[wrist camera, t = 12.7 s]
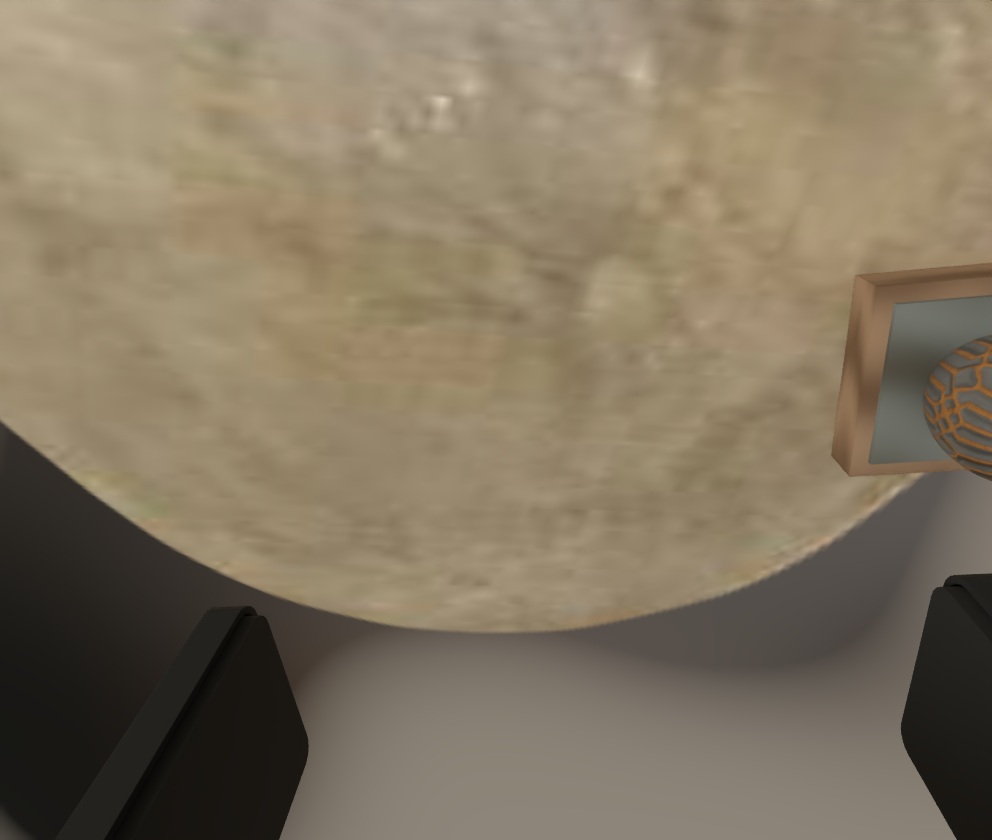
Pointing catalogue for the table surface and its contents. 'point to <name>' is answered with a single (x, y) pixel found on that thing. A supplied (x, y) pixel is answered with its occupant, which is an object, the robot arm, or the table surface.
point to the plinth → (903, 363)
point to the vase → (963, 405)
